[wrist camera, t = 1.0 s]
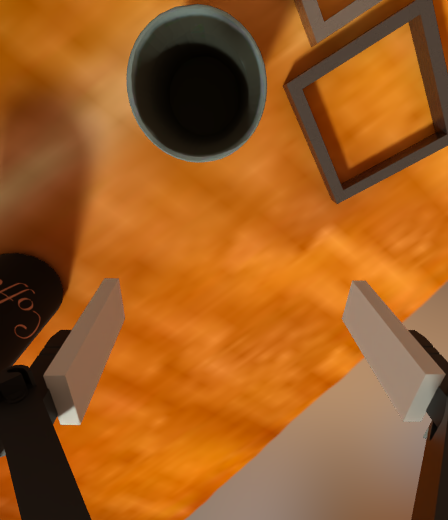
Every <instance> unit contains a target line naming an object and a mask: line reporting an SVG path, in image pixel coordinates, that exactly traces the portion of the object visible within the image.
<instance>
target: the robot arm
mask: <svg viewBox="0 0 448 520" xmlns="http://www.w3.org/2000/svg"><path fill="white" fill-rule="evenodd" d="M124 319H125V315H124V309H123V303H122V296H121V290H120V284H119V279H114V278H105V279H104V280H103V282H102V283H101V285H100V286H99V288H98V290H97V291H96V293H95V294H94V296H93V298H92V299H91V301H90V302H89V304H88V305H87V307H86V309H85V310H84V312H83V313H82V315H81V316H80V318H79V320H78V321H77V323H76V324H75V326H74V328H73V329H72V330H60V331H59V332H57V333H56V334H55V335H54V336H52V337H51V338H50V339H49V341H48V342H47V344H46V345H45V346H44V348H43V349H42V351H41V352H40V354H39V356H37V358H36V359H35V361H34V362H33V364H32V365H31V366H30V368H29V367H28V366H24V365H14V366H11V367H8V368H5V369H3V370H2V371H0V457H2V456H5V455H6V457H7V461H8V465H9V470H10V474H11V478H12V482H13V486H14V490H15V494H16V499H17V503H18V507H19V511H20V515H21V519H22V520H91V518H90V515H89V513H88V510H87V508H86V505H85V503H84V500H83V498H82V495H81V493H80V491H79V488H78V486H77V483H76V481H75V478H74V476H73V473H72V471H71V468H70V466H69V463H68V461H67V458H66V456H65V454H64V451H63V449H62V446H61V444H60V441H59V439H58V436H57V434H56V431H55V429H54V426H53V423H54V421H55V419H56V417H57V416H58V419H59V421H60V424H61V425H80V424H81V422H82V420H83V417H84V415H85V412H86V410H87V408H88V405H89V403H90V400H91V398H92V396H93V393H94V391H95V389H96V386H97V384H98V381H99V379H100V377H101V374H102V372H103V369H104V367H105V365H106V362H107V360H108V358H109V355H110V353H111V350H112V348H113V346H114V343H115V341H116V338H117V336H118V334H119V331H120V329H121V327H122V324H123V322H124ZM342 320H343V322H344V323H345V325H346V327H347V328H348V330H349V332H350V333H351V335H352V337H353V338H354V340H355V342H356V343H357V345H358V347H359V348H360V350H361V352H362V354H363V355H364V357H365V359H366V360H367V362H368V363H369V365H370V367H371V369H372V370H373V372H374V374H375V375H376V377H377V379H378V380H379V382H380V384H381V385H382V387H383V389H384V390H385V392H386V394H387V396H388V397H389V399H390V401H391V402H392V404H393V406H394V407H395V408H396V410H397V412H398V414H399V416H400V417H401V419H402V421H403V422H404V421H408V422H411V421H422V419H423V417H424V415H425V413H426V412H427V413H428V415H429V416H430V418H431V419H432V422H431V423H430V425H429V427H428V429H427V431H426V433H425V434H424V437H423V438H425V439H426V438H427V440H426V445H425V451H424V457H423V461H422V466H421V472H420V477H419V482H418V488H417V493H416V498H415V503H414V508H413V514H412V519H411V520H448V362H447V361H446V360H445V359H444V358H443V356H442V355H440V354H439V352H438V351H437V350H436V349H435V348H433V345H432V344H431V343H430V342H429V341H428V340H427V339H426V338H425V337H424V336H422V335H421V334H419V333H418V332H417V331H415V330H407V329H406V327H405V326H404V325H403V324H402V323H401V322H400V320H399V319H398V318H397V317H396V316H395V315H394V313H393V312H392V311H391V310H390V309H389V308H388V306H387V305H386V304H385V303H384V302H383V301H382V299H381V298H380V297H379V296H378V295H377V294H376V292H375V291H374V290H373V289H372V288H371V287H370V285H369V284H368V283H367V282H366V281H352V284H351V287H350V291H349V295H348V299H347V302H346V306H345V310H344V314H343V317H342Z"/></svg>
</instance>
